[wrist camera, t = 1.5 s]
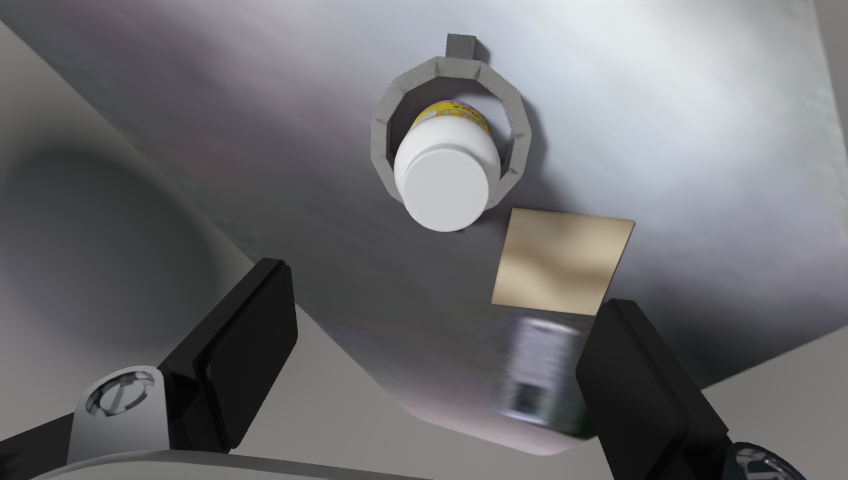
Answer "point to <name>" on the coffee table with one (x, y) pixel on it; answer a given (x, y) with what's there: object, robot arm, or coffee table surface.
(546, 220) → the mat
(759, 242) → the coffee table surface
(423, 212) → the supplement bottle
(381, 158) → the collar
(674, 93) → the coffee table surface
